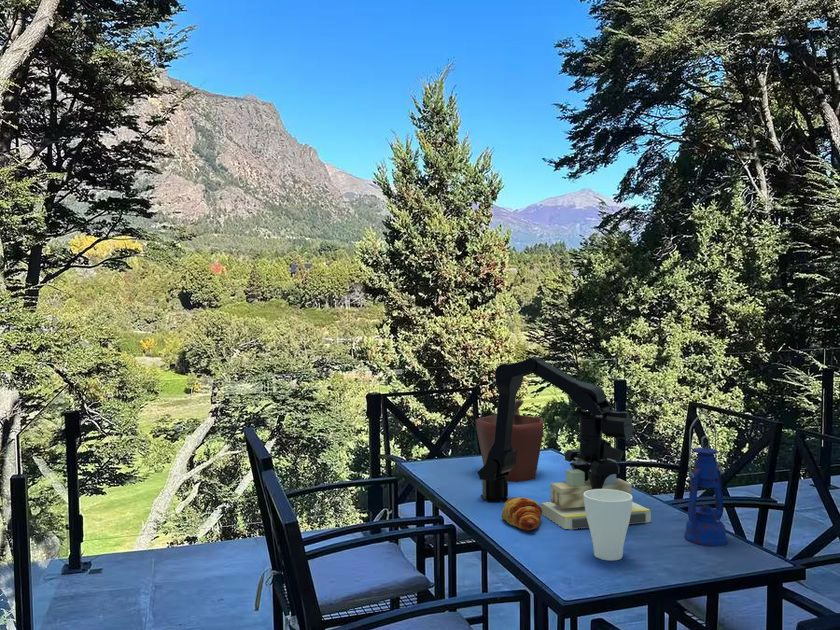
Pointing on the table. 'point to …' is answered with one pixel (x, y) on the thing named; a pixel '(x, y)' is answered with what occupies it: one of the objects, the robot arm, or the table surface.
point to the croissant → (522, 513)
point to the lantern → (705, 519)
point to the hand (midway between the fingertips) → (590, 494)
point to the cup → (608, 521)
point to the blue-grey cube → (610, 479)
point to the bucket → (515, 442)
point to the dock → (578, 518)
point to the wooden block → (580, 492)
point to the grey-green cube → (575, 477)
